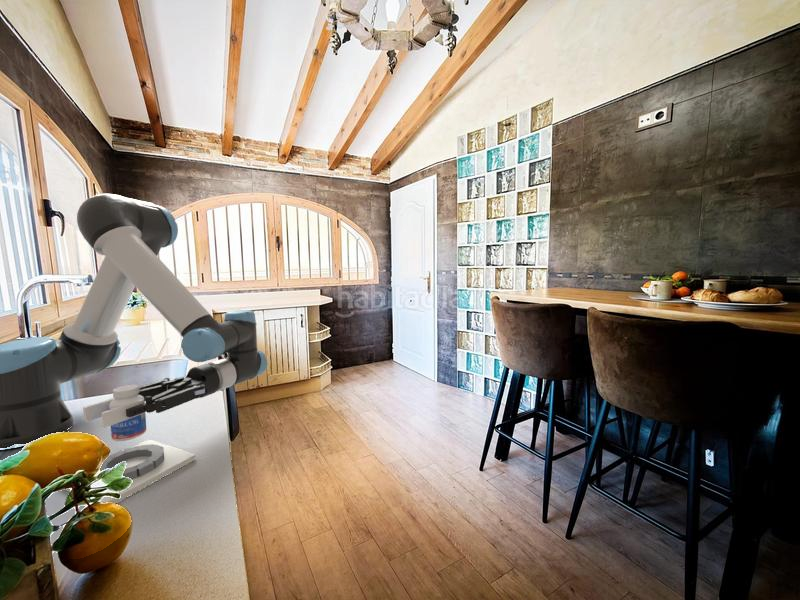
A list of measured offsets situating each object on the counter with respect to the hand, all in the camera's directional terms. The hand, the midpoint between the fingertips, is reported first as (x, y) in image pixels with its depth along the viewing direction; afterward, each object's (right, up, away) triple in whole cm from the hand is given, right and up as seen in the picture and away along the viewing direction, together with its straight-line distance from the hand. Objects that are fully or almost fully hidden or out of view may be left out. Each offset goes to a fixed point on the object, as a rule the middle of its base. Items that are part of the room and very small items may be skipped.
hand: (94, 417), depth 60 cm
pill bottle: (+2, -6, +5) cm, 8 cm away
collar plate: (+2, -13, +6) cm, 15 cm away
